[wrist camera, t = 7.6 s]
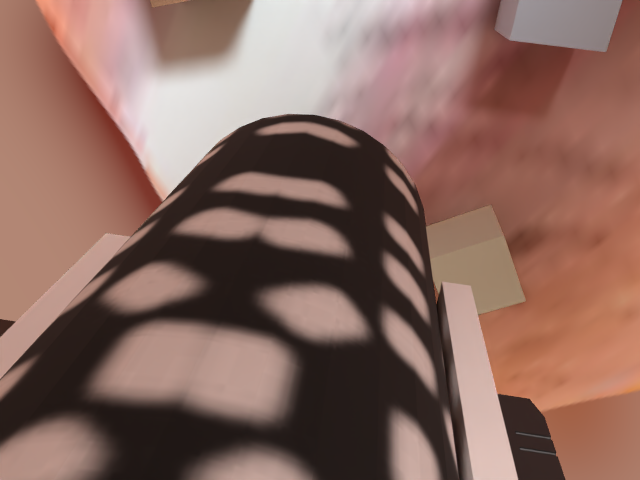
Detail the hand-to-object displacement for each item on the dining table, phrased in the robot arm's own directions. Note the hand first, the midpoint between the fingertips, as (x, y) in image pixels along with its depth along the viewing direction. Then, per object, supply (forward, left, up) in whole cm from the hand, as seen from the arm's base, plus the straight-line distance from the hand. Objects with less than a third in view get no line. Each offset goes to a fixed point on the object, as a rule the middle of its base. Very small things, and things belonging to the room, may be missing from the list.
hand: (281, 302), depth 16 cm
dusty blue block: (-8, +11, -24) cm, 28 cm away
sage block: (+9, +10, -24) cm, 28 cm away
